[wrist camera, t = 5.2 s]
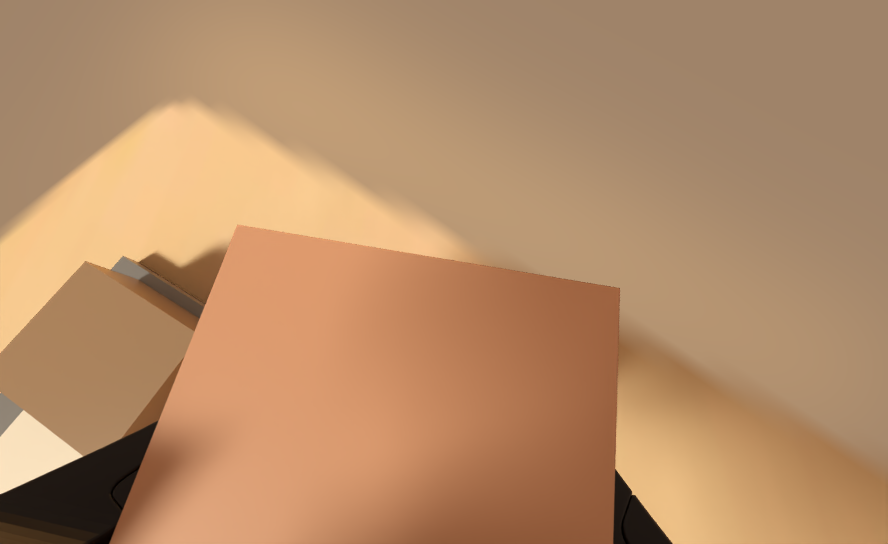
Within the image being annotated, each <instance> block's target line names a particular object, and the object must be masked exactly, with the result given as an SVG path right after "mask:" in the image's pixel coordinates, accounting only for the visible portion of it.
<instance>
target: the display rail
mask: <svg viewBox="0 0 888 544" xmlns="http://www.w3.org/2000/svg"><path fill="white" fill-rule="evenodd" d="M204 307H205V304H204V303H202V302H201V301H199V300H197V299H196V298H194V297H193V296H191V295H189V294H188V293H186V292H185V291H183V290H181V289H180V288H178V287H177V286H175V285H173V284H172V283H170V282H169V281H167V280H165V279H164V278H162V277H161V276H159V275H157V274H156V273H154V272H153V271H151V270H149V269H148V268H146V267H145V266H143V265H141V264H140V263H138V262H136V261H134V260H131V259H129V258H126V257H124V256H123V257H122V258H121V259H120V260H119V261H118V262H117V263H116V264H115V266H114V267H113V268H112V269H111V270H109V269H106V268H104V267H101V266H98V265H95V264H92V263H89V262H86V261H85V262H84V263H83V265H82V266H81V267H80V268H79V269H78V270H77V271H76V272H75V273H74V274H73V275H72V276H71V277H70V279H69V280H68V281H67V282H66V283H65V284H64V285H63V286H62V287H61V288H60V289H59V290H58V292H57V293H56V294H55V295H54V296H53V297H52V298H51V299H50V300H49V301H48V302H47V303H46V305H45V306H44V307H43V308H42V309H41V310H40V311H39V312H38V313H37V314H36V315H35V316H34V317H33V319H32V320H31V321H30V322H29V323H28V324H27V325H26V326H25V327H24V328H23V329H22V330H21V332H20V333H19V334H18V335H17V336H16V337H15V338H14V339H13V340H12V341H11V342H10V343H9V344H8V346H7V347H6V348H5V349H4V350H3V351H2V352H1V353H0V392H1V393H0V494H2V493H4V492H6V491H9V490H11V489H13V488H15V487H17V486H20V485H22V484H24V483H26V482H28V481H31V480H33V479H35V478H37V477H39V476H41V475H44V474H46V473H48V472H50V471H52V470H55V469H57V468H59V467H61V466H63V465H65V464H68V463H70V462H72V461H74V460H76V459H78V458H81V457H83V456H85V455H87V454H89V453H92V452H94V451H96V450H98V449H100V448H102V447H105V446H107V445H109V444H111V443H113V442H115V441H117V440H119V439H121V438H123V437H126V436H128V435H130V434H132V433H134V432H136V431H138V430H140V429H142V428H144V427H146V426H148V425H150V424H152V423H154V422H156V421H158V420H159V419H160V416H161V414H162V411H163V409H164V406H165V404H166V401H167V399H168V396H169V394H170V391H171V389H172V386H173V384H174V381H175V379H176V376H177V374H178V371H179V369H180V366H181V364H182V361H183V359H184V357H185V354H186V352H187V349H188V347H189V344H190V342H191V339H192V337H193V334H194V332H195V329H196V327H197V324H198V322H199V319H200V317H201V314H202V312H203V309H204Z"/></svg>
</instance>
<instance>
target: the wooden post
mask: <svg viewBox="0 0 888 544" xmlns="http://www.w3.org/2000/svg"><path fill="white" fill-rule="evenodd" d="M619 302H620V288H615V287H610V286H603V285H597V284H591V283H585V282H579V281H573V280H567V279H561V278H555V277H549V276H543V275H537V274H531V273H525V272H519V271H513V270H507V269H501V268H495V267H489V266H483V265H477V264H471V263H465V262H459V261H453V260H447V259H441V258H435V257H429V256H423V255H417V254H411V253H405V252H399V251H393V250H387V249H381V248H375V247H369V246H363V245H357V244H351V243H345V242H339V241H333V240H327V239H321V238H315V237H308V236H302V235H296V234H290V233H284V232H278V231H272V230H266V229H260V228H254V227H248V226H242V225H237V227H236V230H235V232H234V235H233V237H232V240H231V242H230V245H229V247H228V250H227V252H226V255H225V257H224V260H223V262H222V264H221V267H220V269H219V272H218V274H217V277H216V279H215V282H214V284H213V287H212V289H211V292H210V294H209V297H208V299H207V302H206V304H205V307H204V309H203V312H202V314H201V317H200V319H199V322H198V324H197V327H196V329H195V332H194V334H193V337H192V339H191V342H190V344H189V347H188V349H187V352H186V354H185V357H184V359H183V361H182V364H181V366H180V369H179V371H178V374H177V376H176V379H175V381H174V384H173V386H172V389H171V391H170V394H169V396H168V399H167V401H166V404H165V406H164V409H163V411H162V414H161V416H160V419H159V421H158V424H157V426H156V429H155V431H154V434H153V436H152V439H151V441H150V444H149V446H148V449H147V451H146V454H145V456H144V459H143V461H142V463H141V466H140V468H139V471H138V473H137V476H136V478H135V481H134V483H133V486H132V488H131V491H130V493H129V496H128V498H127V501H126V503H125V506H124V508H123V511H122V513H121V516H120V518H119V521H118V523H117V526H116V528H115V531H114V533H113V536H112V538H111V541H110V543H109V544H613V530H614V492H615V454H616V416H617V378H618V340H619Z"/></svg>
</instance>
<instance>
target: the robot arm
mask: <svg viewBox="0 0 888 544" xmlns="http://www.w3.org/2000/svg"><path fill="white" fill-rule="evenodd" d="M158 421H159V420H158ZM158 421H156V422H154V423H152V424H150V425H148V426H146V427H144V428H142V429H140V430H138V431H136V432H134V433H132V434H130V435H128V436H126V437H123V438H121V439H119V440H117V441H115V442H113V443H111V444H109V445H107V446H105V447H102V448H100V449H98V450H96V451H94V452H92V453H89V454H87V455H85V456H83V457H81V458H78V459H76V460H74V461H72V462H70V463H68V464H65V465H63V466H61V467H59V468H57V469H55V470H52V471H50V472H48V473H46V474H44V475H41V476H39V477H37V478H35V479H33V480H31V481H28V482H26V483H24V484H22V485H20V486H17V487H15V488H13V489H11V490H9V491H6V492H4V493H2V494H0V544H109V543H110V541H111V538H112V536H113V533H114V531H115V528H116V526H117V523H118V521H119V518H120V516H121V513H122V511H123V508H124V506H125V503H126V501H127V498H128V496H129V493H130V491H131V488H132V486H133V483H134V481H135V478H136V476H137V473H138V471H139V468H140V466H141V463H142V461H143V459H144V456H145V454H146V451H147V449H148V446H149V444H150V441H151V439H152V436H153V434H154V431H155V429H156V426H157V424H158ZM613 544H672V542H671V541H670V540H669V538H668V537H667V536H666V535H665V533H664V532H663V531H662V530H661V528H660V527H659V526H658V524H657V523H656V522H655V521H654V519H653V518H652V517H651V516H650V514H649V513H648V512H647V510H646V509H645V508H644V506H643V505H642V504H641V502H640V501H639V500H638V498H637V497H636V496H635V495H632V491H631V489H630V488H629V487H628V485H627V484H626V483H625V481H624V480H623V479H622V477H621V476H620V475H619V473H618V472H617V471H616V469H615V492H614V530H613Z"/></svg>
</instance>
